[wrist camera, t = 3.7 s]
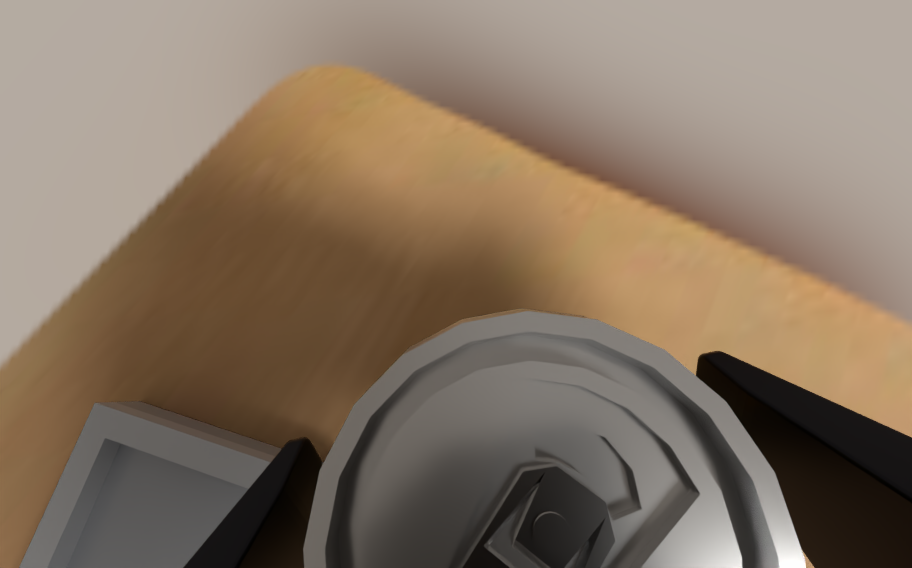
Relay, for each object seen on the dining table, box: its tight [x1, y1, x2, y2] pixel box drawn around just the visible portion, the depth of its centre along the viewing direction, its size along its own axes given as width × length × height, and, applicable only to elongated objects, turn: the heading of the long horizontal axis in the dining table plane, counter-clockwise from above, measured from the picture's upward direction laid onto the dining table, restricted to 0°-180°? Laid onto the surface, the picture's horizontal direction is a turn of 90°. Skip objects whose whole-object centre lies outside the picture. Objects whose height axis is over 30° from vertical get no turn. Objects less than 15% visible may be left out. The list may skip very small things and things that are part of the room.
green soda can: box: [303, 308, 805, 568], centre depth 10 cm, size 5×5×12 cm
